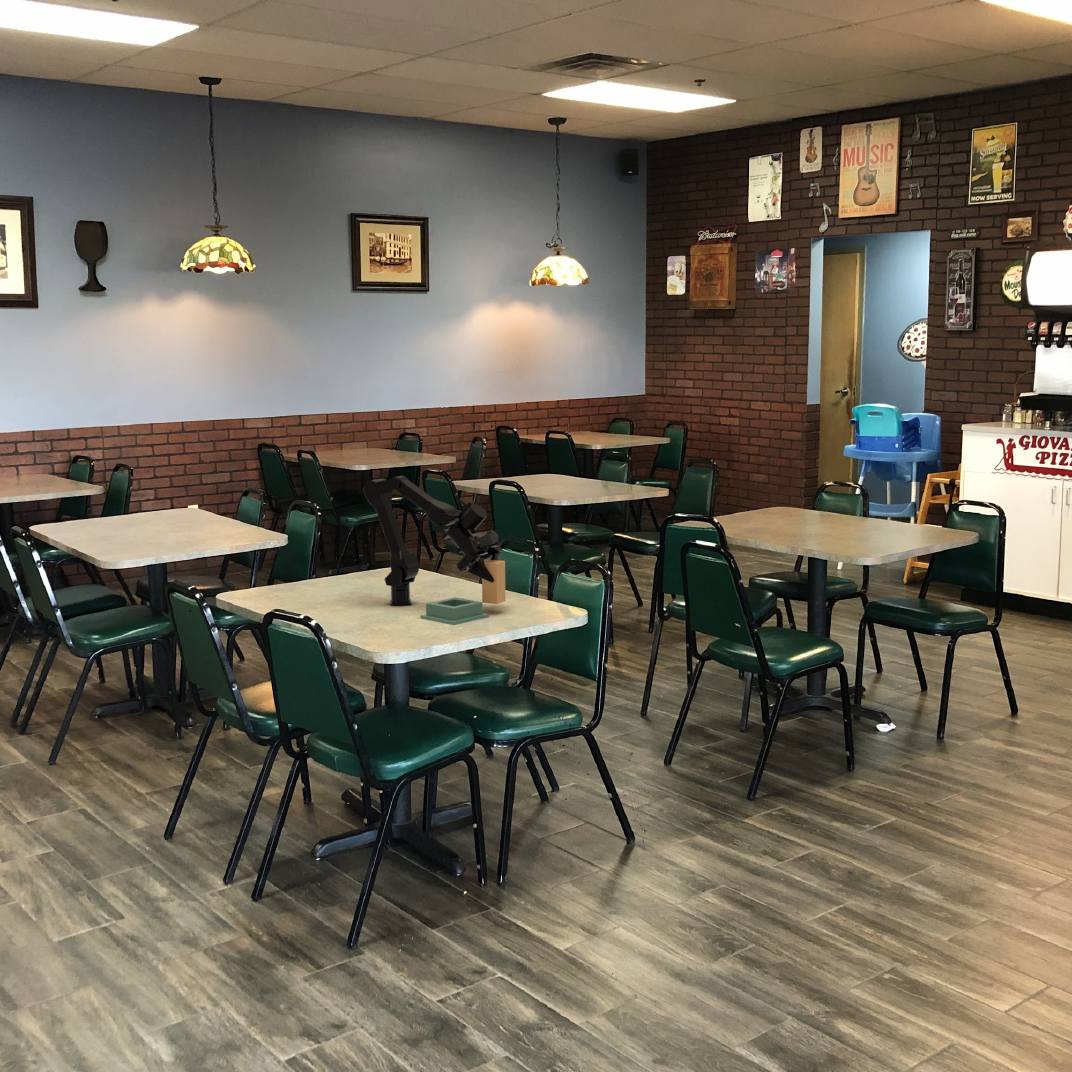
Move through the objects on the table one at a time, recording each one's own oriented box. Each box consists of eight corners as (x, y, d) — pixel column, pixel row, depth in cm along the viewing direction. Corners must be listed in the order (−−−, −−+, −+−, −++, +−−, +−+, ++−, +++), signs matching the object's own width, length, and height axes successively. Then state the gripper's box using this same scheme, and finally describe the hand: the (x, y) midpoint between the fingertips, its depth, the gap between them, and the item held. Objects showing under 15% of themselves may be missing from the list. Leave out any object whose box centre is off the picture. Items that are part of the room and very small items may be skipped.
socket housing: (420, 618, 350) (419, 603, 350) (455, 610, 360) (455, 596, 360) (453, 624, 341) (453, 609, 340) (488, 616, 351) (488, 602, 350)
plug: (482, 602, 356) (481, 562, 354) (490, 599, 360) (490, 559, 358) (497, 604, 353) (496, 563, 351) (505, 601, 358) (505, 561, 356)
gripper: (465, 526, 347) (499, 567, 343) (496, 518, 363) (529, 557, 360) (442, 551, 351) (475, 592, 348) (474, 542, 368) (506, 581, 364)
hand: (497, 580), depth 355 cm, fingers closed on plug, 5 cm apart
